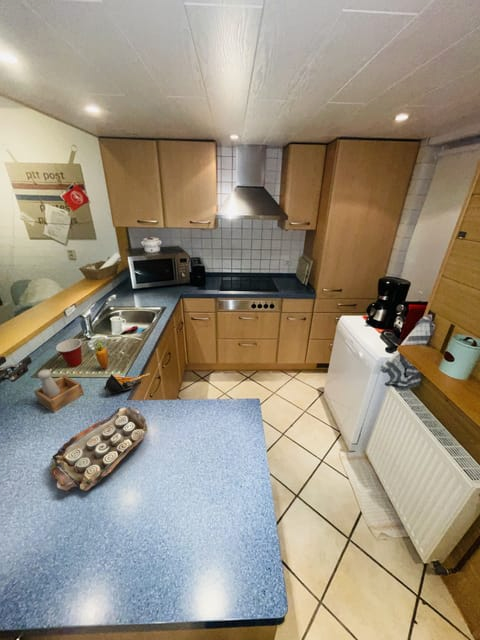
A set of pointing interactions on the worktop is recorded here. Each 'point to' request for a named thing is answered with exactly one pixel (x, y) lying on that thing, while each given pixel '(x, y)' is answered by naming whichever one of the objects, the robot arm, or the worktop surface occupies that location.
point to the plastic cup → (71, 351)
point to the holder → (61, 394)
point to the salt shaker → (48, 384)
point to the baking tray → (97, 449)
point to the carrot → (102, 356)
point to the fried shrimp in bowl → (121, 383)
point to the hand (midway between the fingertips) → (17, 358)
